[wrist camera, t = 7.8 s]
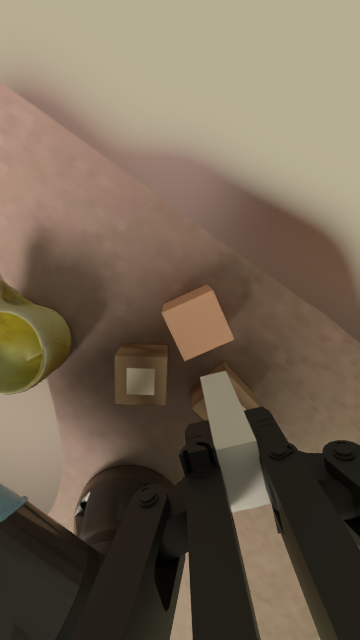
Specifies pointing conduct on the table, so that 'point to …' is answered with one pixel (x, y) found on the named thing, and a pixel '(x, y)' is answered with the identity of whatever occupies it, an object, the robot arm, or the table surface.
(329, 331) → the table surface
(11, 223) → the table surface
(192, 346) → the plain block
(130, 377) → the walnut block
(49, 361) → the mug
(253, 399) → the walnut block
